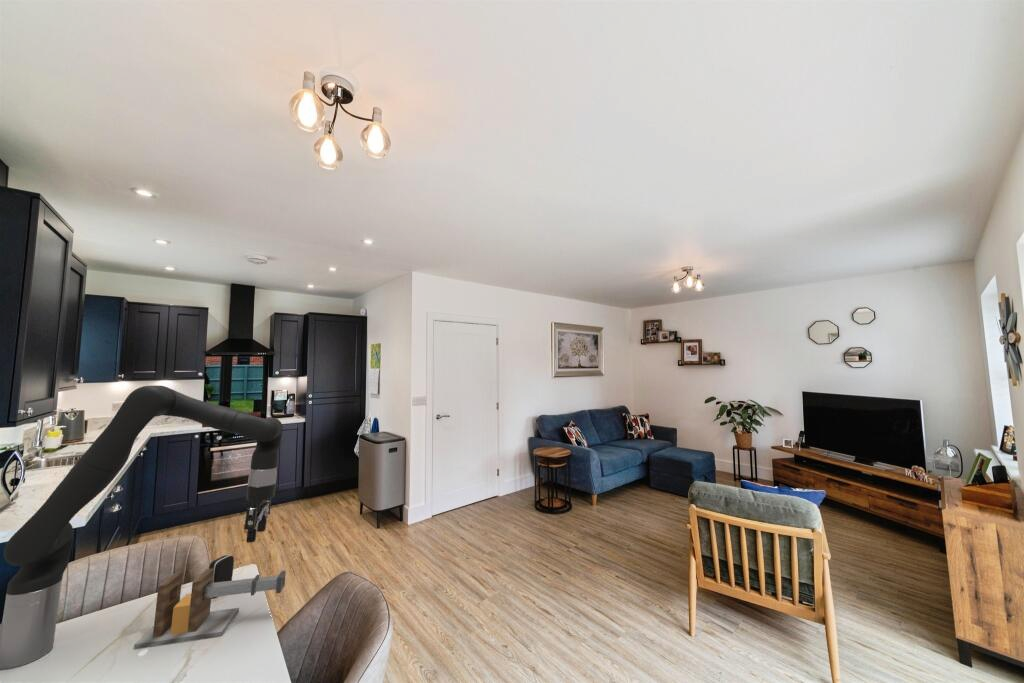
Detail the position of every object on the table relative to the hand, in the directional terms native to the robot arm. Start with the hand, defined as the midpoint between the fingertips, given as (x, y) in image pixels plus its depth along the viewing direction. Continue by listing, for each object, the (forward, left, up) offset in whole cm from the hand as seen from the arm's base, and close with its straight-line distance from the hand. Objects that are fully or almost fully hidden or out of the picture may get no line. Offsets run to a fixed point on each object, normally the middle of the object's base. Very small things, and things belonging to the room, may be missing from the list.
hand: (256, 536), depth 117 cm
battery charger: (-15, +19, -24) cm, 34 cm away
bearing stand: (-14, -1, -24) cm, 28 cm away
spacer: (-16, -1, -22) cm, 27 cm away
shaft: (-2, -1, -16) cm, 16 cm away
